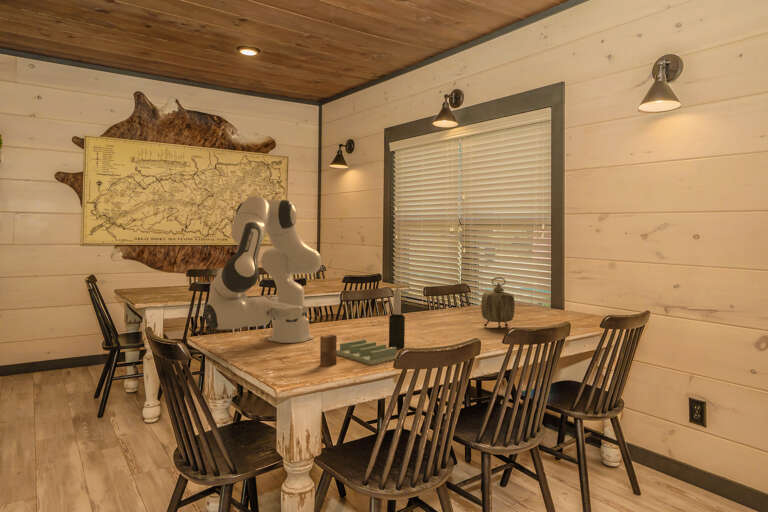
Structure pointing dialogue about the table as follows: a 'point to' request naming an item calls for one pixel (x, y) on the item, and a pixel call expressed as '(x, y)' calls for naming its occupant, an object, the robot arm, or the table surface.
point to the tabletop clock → (497, 305)
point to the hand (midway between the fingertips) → (298, 307)
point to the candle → (396, 323)
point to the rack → (367, 351)
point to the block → (328, 350)
